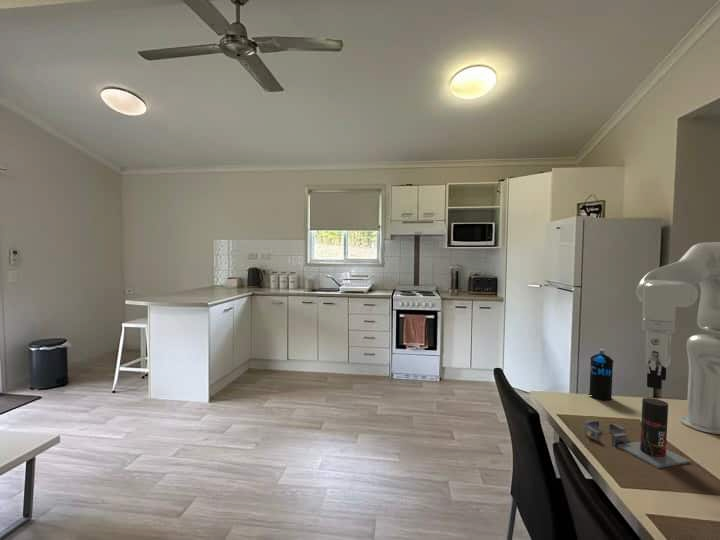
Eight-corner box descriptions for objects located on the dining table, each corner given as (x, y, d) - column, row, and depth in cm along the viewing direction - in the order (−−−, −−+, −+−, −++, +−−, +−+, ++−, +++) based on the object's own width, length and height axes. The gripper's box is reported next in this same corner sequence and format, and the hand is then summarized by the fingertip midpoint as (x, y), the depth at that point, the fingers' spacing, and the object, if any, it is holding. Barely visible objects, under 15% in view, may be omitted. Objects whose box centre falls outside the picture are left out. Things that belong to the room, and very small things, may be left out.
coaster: (647, 442, 117) (647, 440, 117) (690, 462, 106) (690, 460, 106) (617, 446, 114) (617, 444, 114) (657, 468, 102) (657, 466, 102)
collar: (605, 427, 127) (605, 418, 127) (636, 442, 117) (637, 433, 117) (574, 431, 124) (575, 422, 124) (604, 447, 113) (604, 437, 113)
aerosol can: (590, 392, 161) (592, 346, 160) (613, 397, 155) (615, 349, 155) (587, 397, 154) (588, 349, 154) (610, 402, 149) (613, 353, 148)
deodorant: (656, 458, 106) (659, 406, 106) (635, 448, 112) (637, 399, 111) (670, 455, 108) (673, 404, 108) (649, 445, 114) (651, 396, 113)
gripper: (671, 332, 100) (669, 395, 101) (678, 322, 112) (676, 379, 113) (637, 328, 105) (635, 388, 106) (647, 319, 117) (645, 373, 118)
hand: (656, 383), depth 109 cm, fingers open, 9 cm apart
